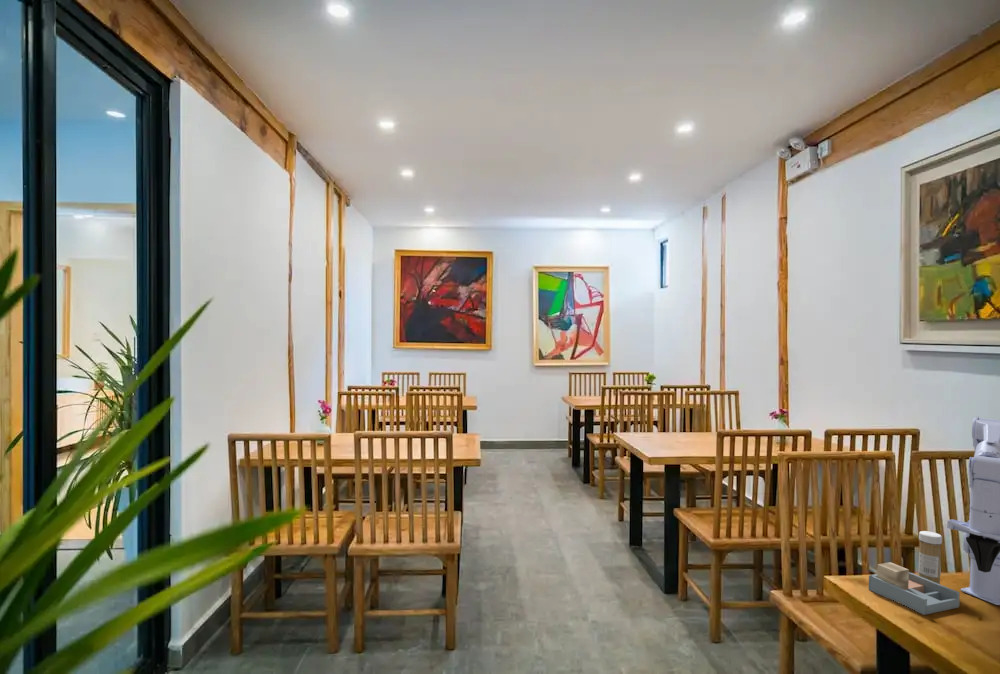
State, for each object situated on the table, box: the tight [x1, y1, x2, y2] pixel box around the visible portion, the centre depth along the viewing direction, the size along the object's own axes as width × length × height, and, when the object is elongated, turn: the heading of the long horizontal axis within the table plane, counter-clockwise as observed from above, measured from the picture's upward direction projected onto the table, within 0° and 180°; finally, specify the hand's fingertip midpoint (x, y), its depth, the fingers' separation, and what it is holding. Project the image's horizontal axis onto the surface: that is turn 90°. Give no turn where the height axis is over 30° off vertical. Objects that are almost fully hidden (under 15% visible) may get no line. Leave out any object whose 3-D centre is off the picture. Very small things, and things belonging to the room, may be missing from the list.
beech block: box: [876, 561, 910, 589], centre depth 136 cm, size 4×4×4 cm
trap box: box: [868, 571, 961, 616], centre depth 134 cm, size 12×13×4 cm
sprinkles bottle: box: [918, 530, 943, 585], centre depth 140 cm, size 5×5×13 cm
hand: (984, 570), depth 126 cm, fingers closed
